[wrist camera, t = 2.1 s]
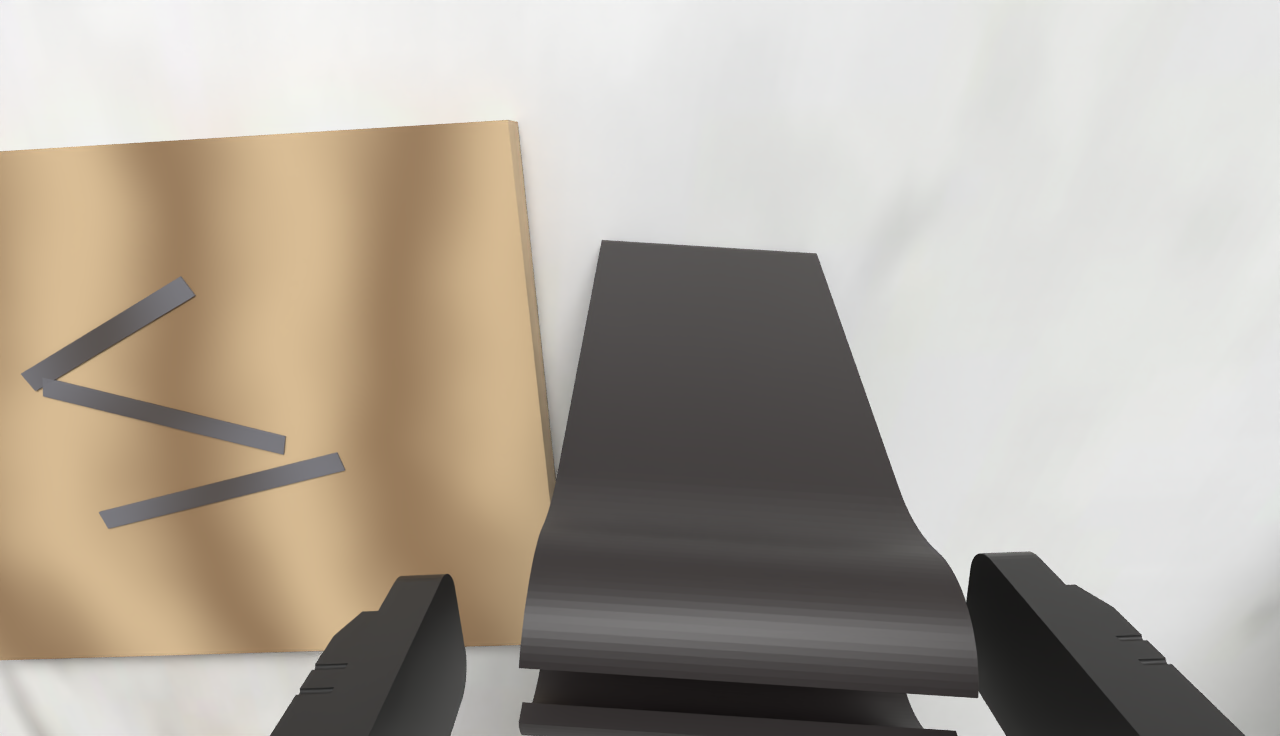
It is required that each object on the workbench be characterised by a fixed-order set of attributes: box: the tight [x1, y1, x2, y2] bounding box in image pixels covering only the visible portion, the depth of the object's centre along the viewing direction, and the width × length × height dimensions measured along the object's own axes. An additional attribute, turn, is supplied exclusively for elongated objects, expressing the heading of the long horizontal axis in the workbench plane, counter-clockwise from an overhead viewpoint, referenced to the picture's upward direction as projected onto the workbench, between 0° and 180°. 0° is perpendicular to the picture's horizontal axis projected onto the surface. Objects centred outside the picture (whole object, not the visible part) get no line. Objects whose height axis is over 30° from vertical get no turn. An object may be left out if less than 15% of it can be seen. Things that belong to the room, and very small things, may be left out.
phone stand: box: [519, 240, 979, 736], centre depth 14 cm, size 9×6×12 cm, turn 176°
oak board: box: [0, 120, 556, 660], centre depth 20 cm, size 20×16×1 cm
